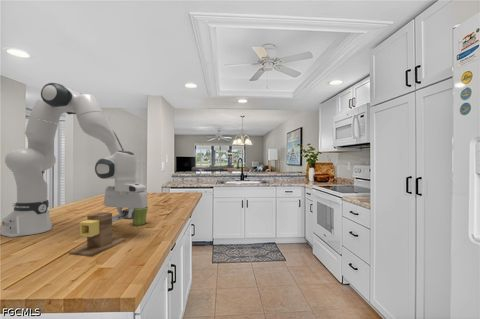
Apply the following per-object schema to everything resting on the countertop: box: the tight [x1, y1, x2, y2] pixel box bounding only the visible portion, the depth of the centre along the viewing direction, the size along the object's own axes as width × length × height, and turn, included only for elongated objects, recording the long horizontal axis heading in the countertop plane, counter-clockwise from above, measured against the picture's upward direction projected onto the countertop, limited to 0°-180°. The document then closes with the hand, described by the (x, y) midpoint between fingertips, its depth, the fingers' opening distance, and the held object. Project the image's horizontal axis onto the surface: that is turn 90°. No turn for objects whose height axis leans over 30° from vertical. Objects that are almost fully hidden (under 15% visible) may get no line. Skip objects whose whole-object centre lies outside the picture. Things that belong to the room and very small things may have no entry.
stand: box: [68, 211, 127, 257], centre depth 98 cm, size 10×18×13 cm, turn 168°
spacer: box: [79, 219, 100, 238], centre depth 93 cm, size 4×5×5 cm
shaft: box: [87, 208, 135, 230], centre depth 105 cm, size 24×4×4 cm, turn 167°
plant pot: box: [131, 205, 149, 226], centre depth 133 cm, size 9×9×9 cm
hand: (125, 217), depth 113 cm, fingers closed on shaft, 2 cm apart
